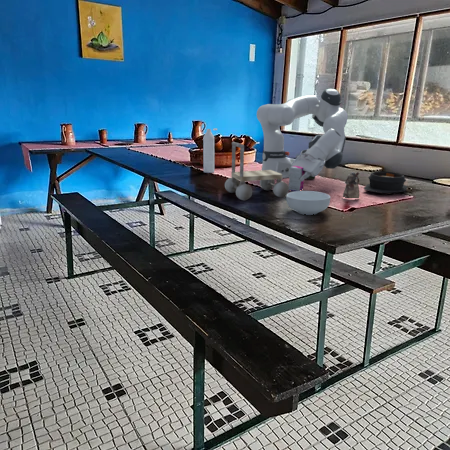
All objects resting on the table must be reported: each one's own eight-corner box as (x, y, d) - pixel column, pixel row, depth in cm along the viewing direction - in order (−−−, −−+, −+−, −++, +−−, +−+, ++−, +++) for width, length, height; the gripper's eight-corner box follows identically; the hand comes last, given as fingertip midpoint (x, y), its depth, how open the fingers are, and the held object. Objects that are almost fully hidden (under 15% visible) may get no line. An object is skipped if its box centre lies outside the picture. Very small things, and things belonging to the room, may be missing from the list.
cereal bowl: (322, 206, 169) (324, 190, 167) (334, 218, 154) (336, 200, 151) (282, 206, 169) (283, 190, 167) (289, 218, 153) (290, 200, 151)
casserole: (381, 184, 211) (383, 168, 209) (416, 191, 198) (419, 174, 195) (353, 191, 196) (355, 174, 194) (389, 199, 182) (392, 180, 180)
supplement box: (299, 192, 193) (300, 168, 190) (287, 190, 196) (289, 167, 193) (303, 190, 198) (305, 166, 194) (292, 188, 201) (294, 165, 197)
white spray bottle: (206, 173, 237) (206, 129, 230) (201, 171, 243) (201, 128, 235) (219, 172, 241) (219, 128, 234) (214, 170, 247) (214, 128, 239)
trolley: (272, 189, 200) (274, 139, 192) (288, 196, 185) (291, 143, 178) (224, 192, 192) (224, 141, 184) (237, 201, 177) (238, 145, 170)
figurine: (340, 196, 186) (343, 170, 182) (356, 196, 186) (359, 170, 182) (344, 200, 179) (347, 173, 176) (360, 200, 179) (363, 173, 175)
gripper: (330, 165, 187) (310, 187, 187) (307, 158, 206) (289, 178, 206) (323, 155, 185) (302, 178, 184) (300, 150, 203) (281, 170, 203)
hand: (295, 178), depth 195 cm, fingers closed on supplement box, 8 cm apart
